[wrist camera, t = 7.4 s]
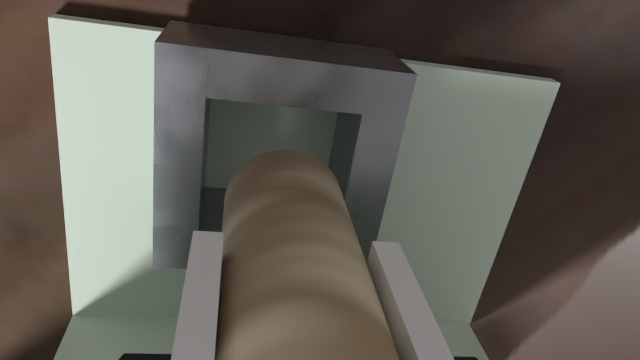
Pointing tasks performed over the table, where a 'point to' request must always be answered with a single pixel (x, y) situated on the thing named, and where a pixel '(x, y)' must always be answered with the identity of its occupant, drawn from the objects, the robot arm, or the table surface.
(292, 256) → the peg
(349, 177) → the socket
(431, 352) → the robot arm
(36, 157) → the table surface
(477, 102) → the awning station
